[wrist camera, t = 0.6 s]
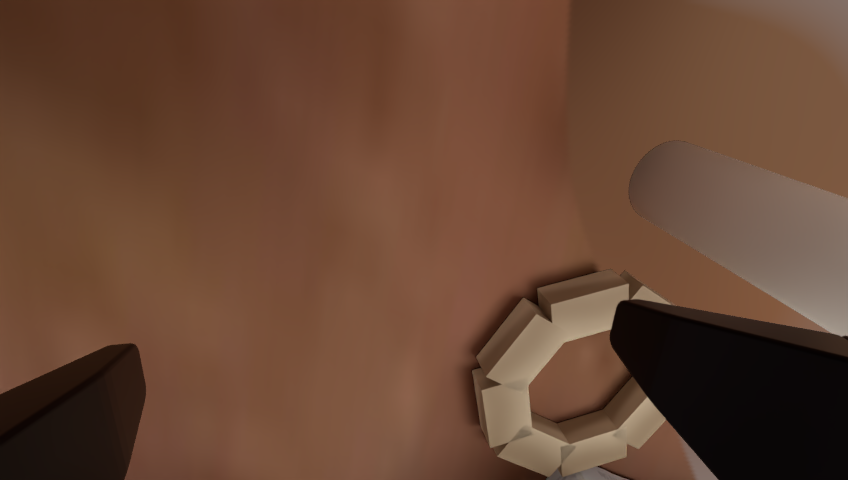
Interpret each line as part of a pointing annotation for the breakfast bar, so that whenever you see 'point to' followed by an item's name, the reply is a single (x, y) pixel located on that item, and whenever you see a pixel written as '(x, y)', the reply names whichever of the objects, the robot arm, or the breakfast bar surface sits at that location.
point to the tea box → (587, 475)
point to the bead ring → (531, 350)
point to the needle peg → (752, 225)
